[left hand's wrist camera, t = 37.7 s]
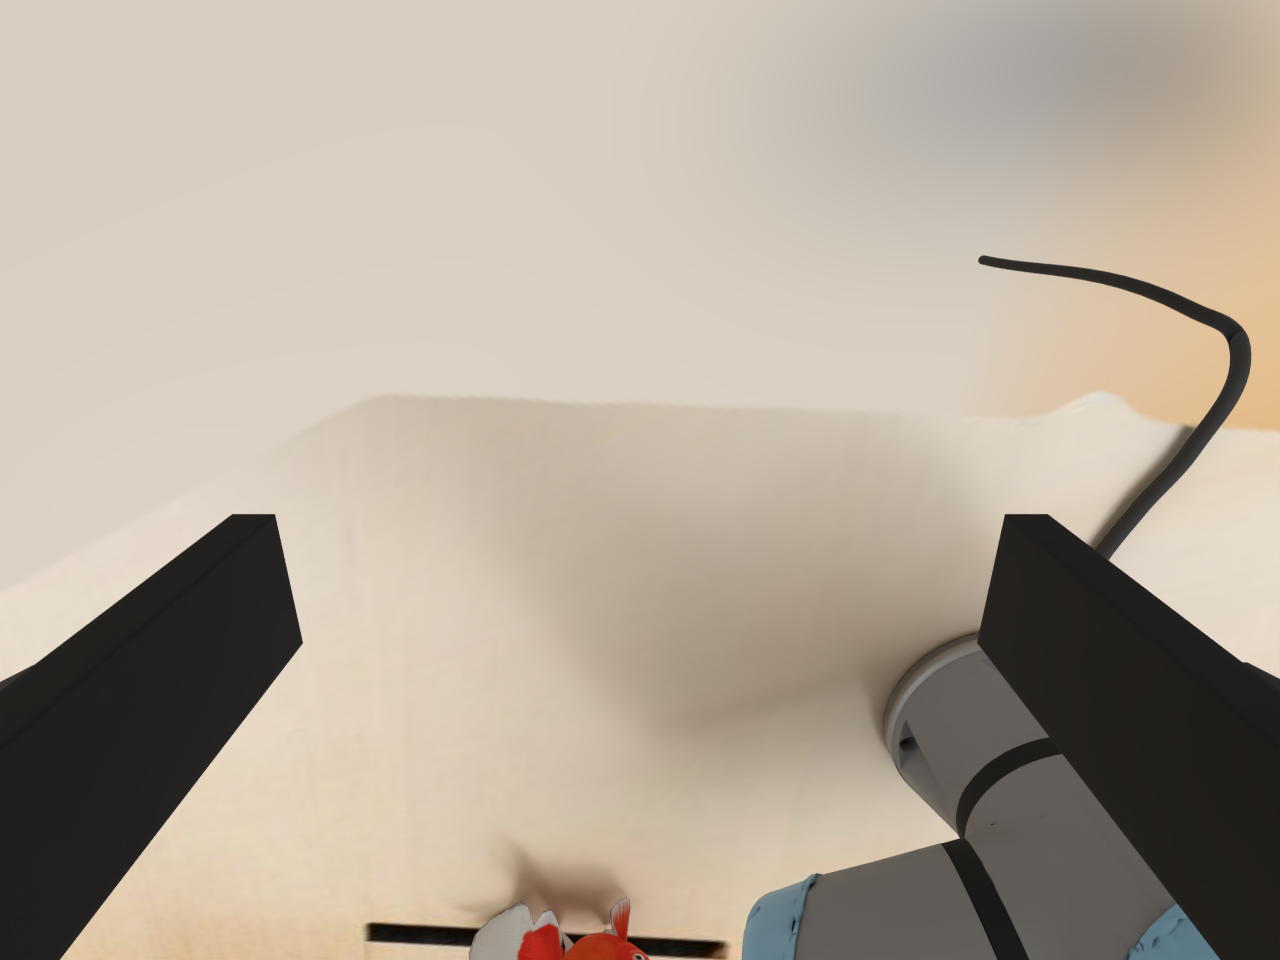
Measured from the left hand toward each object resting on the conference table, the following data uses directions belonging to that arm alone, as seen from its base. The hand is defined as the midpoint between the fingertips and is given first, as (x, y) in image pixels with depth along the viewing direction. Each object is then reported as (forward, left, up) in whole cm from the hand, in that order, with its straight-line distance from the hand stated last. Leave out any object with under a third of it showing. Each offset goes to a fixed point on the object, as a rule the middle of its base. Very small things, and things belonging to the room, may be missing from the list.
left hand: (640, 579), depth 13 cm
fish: (+43, +29, -30) cm, 60 cm away
